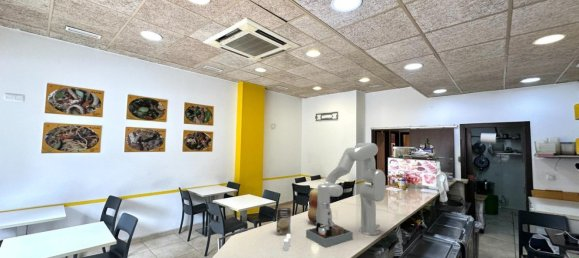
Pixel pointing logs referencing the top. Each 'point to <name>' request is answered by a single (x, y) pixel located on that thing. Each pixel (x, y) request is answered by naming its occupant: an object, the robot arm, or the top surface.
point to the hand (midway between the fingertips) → (323, 233)
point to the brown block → (337, 230)
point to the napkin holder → (287, 242)
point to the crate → (330, 241)
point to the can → (323, 232)
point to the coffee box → (283, 221)
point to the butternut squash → (313, 204)
